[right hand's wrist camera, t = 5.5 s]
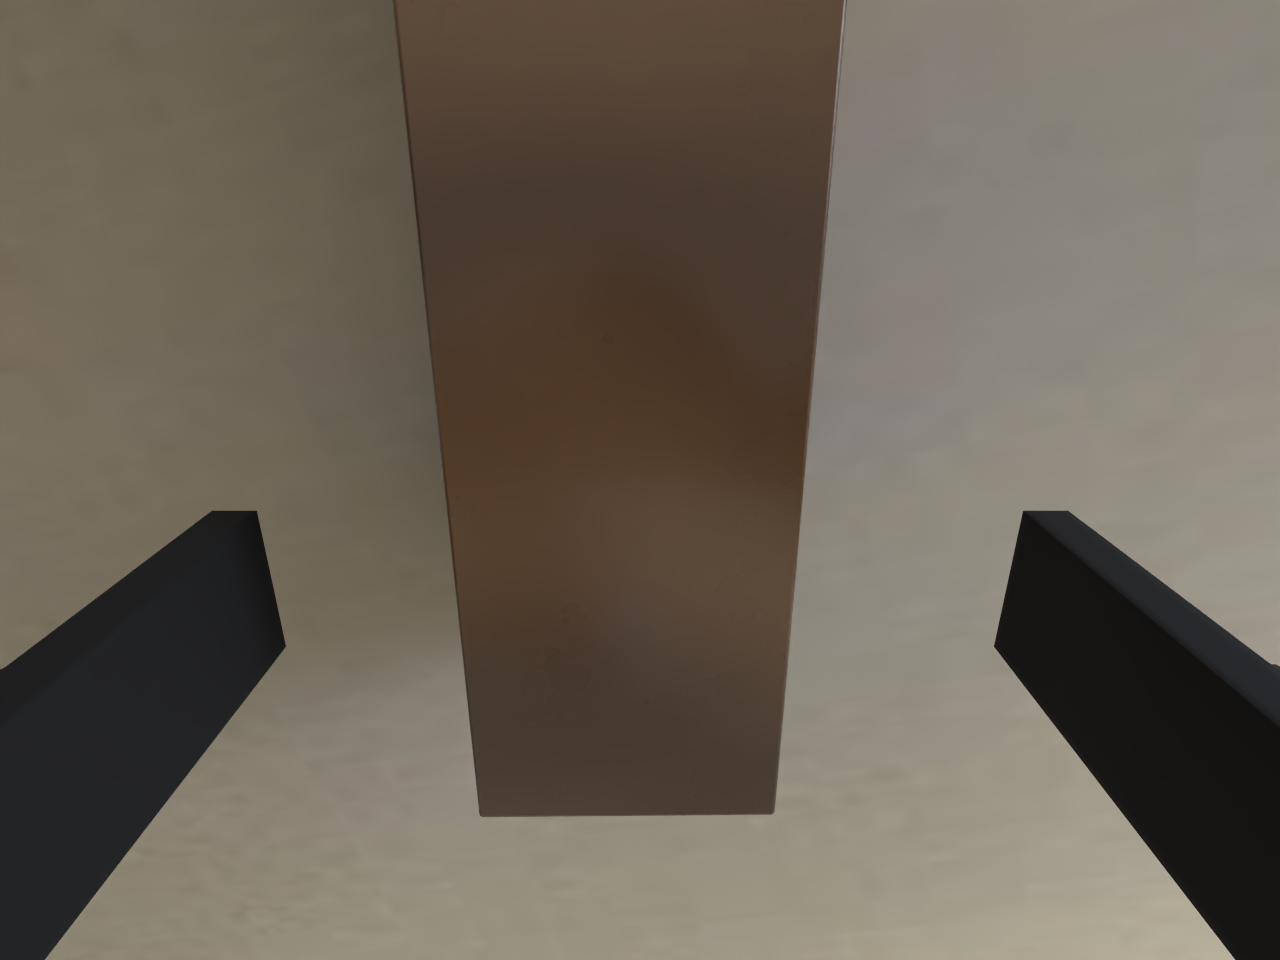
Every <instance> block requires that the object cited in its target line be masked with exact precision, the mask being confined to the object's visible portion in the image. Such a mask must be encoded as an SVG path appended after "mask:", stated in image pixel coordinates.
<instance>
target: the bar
mask: <svg viewBox="0 0 1280 960" xmlns="http://www.w3.org/2000/svg"><path fill="white" fill-rule="evenodd" d="M846 5H847V0H393V7H394V16H395V25H396V35H397V44H398V53H399V63H400V72H401V82H402V91H403V100H404V110H405V119H406V129H407V138H408V147H409V157H410V166H411V175H412V185H413V194H414V204H415V213H416V222H417V232H418V241H419V251H420V260H421V269H422V279H423V288H424V298H425V307H426V316H427V326H428V335H429V344H430V354H431V363H432V373H433V382H434V391H435V401H436V410H437V420H438V429H439V438H440V448H441V457H442V466H443V476H444V485H445V495H446V504H447V513H448V523H449V532H450V542H451V551H452V560H453V570H454V579H455V588H456V598H457V607H458V617H459V626H460V635H461V645H462V654H463V664H464V673H465V682H466V692H467V701H468V710H469V720H470V729H471V739H472V748H473V757H474V767H475V776H476V786H477V795H478V804H479V813H480V816H482V817H535V816H653V815H770V814H773V813H774V811H775V802H776V790H777V779H778V768H779V757H780V746H781V734H782V723H783V712H784V701H785V689H786V678H787V667H788V656H789V645H790V633H791V622H792V611H793V600H794V589H795V577H796V566H797V555H798V544H799V532H800V521H801V510H802V499H803V488H804V476H805V465H806V454H807V443H808V431H809V420H810V409H811V398H812V387H813V375H814V364H815V353H816V342H817V331H818V319H819V308H820V297H821V286H822V274H823V263H824V252H825V241H826V230H827V218H828V207H829V196H830V185H831V174H832V162H833V151H834V140H835V129H836V117H837V106H838V95H839V84H840V73H841V61H842V50H843V39H844V28H845V16H846Z"/></svg>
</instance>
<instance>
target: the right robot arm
mask: <svg viewBox="0 0 1280 960" xmlns="http://www.w3.org/2000/svg"><path fill="white" fill-rule="evenodd" d="M285 647H286V645H285V640H284V635H283V631H282V626H281V621H280V617H279V612H278V607H277V603H276V598H275V593H274V589H273V584H272V579H271V575H270V570H269V566H268V561H267V556H266V552H265V547H264V542H263V538H262V533H261V528H260V524H259V519H258V514H257V511H211V512H210V513H209V514H207V515H206V516H205V517H203V518H202V519H201V520H199V521H198V522H197V523H195V524H194V525H193V526H191V527H190V528H189V529H187V530H186V531H185V532H183V533H182V534H181V535H179V536H178V537H177V538H175V539H174V540H173V541H172V542H170V543H169V544H168V545H166V546H165V547H164V548H162V549H161V550H160V551H158V552H157V553H156V554H154V555H153V556H152V557H150V558H149V559H148V560H146V561H145V562H144V563H142V564H141V565H140V566H138V567H137V568H136V569H135V570H133V571H132V572H131V573H129V574H128V575H127V576H125V577H124V578H123V579H121V580H120V581H119V582H117V583H116V584H115V585H113V586H112V587H111V588H109V589H108V590H107V591H105V592H104V593H103V594H101V595H100V596H99V597H98V598H96V599H95V600H94V601H92V602H91V603H90V604H88V605H87V606H86V607H84V608H83V609H82V610H80V611H79V612H78V613H76V614H75V615H74V616H72V617H71V618H70V619H68V620H67V621H66V622H65V623H63V624H62V625H61V626H59V627H58V628H57V629H55V630H54V631H53V632H51V633H50V634H49V635H47V636H46V637H45V638H43V639H42V640H41V641H39V642H38V643H37V644H35V645H34V646H33V647H31V648H30V649H29V650H28V651H26V652H25V653H24V654H22V655H21V656H20V657H18V658H17V659H16V660H14V661H13V662H12V663H10V664H9V665H8V666H6V667H5V668H3V669H1V670H0V960H45V959H46V957H47V956H48V955H49V953H50V952H51V951H52V950H53V948H54V947H55V946H56V944H57V943H58V942H59V940H60V939H61V938H62V937H63V935H64V934H65V933H66V931H67V930H68V929H69V927H70V926H71V925H72V924H73V922H74V921H75V920H76V918H77V917H78V916H79V914H80V913H81V912H82V911H83V909H84V908H85V907H86V905H87V904H88V903H89V901H90V900H91V899H92V898H93V896H94V895H95V894H96V892H97V891H98V890H99V889H100V887H101V886H102V885H103V883H104V882H105V881H106V879H107V878H108V877H109V876H110V874H111V873H112V872H113V870H114V869H115V868H116V866H117V865H118V864H119V863H120V861H121V860H122V859H123V857H124V856H125V855H126V853H127V852H128V851H129V850H130V848H131V847H132V846H133V844H134V843H135V842H136V840H137V839H138V838H139V837H140V835H141V834H142V833H143V831H144V830H145V829H146V828H147V826H148V825H149V824H150V822H151V821H152V820H153V818H154V817H155V816H156V815H157V813H158V812H159V811H160V809H161V808H162V807H163V805H164V804H165V803H166V802H167V800H168V799H169V798H170V796H171V795H172V794H173V792H174V791H175V790H176V789H177V787H178V786H179V785H180V783H181V782H182V781H183V779H184V778H185V777H186V776H187V774H188V773H189V772H190V770H191V769H192V768H193V766H194V765H195V764H196V763H197V761H198V760H199V759H200V757H201V756H202V755H203V754H204V752H205V751H206V750H207V748H208V747H209V746H210V744H211V743H212V742H213V741H214V739H215V738H216V737H217V735H218V734H219V733H220V731H221V730H222V729H223V728H224V726H225V725H226V724H227V722H228V721H229V720H230V718H231V717H232V716H233V715H234V713H235V712H236V711H237V709H238V708H239V707H240V705H241V704H242V703H243V702H244V700H245V699H246V698H247V696H248V695H249V694H250V692H251V691H252V690H253V689H254V687H255V686H256V685H257V683H258V682H259V681H260V680H261V678H262V677H263V676H264V674H265V673H266V672H267V670H268V669H269V668H270V667H271V665H272V664H273V663H274V661H275V660H276V659H277V657H278V656H279V655H280V654H281V652H282V651H283V650H284V648H285ZM994 647H995V648H996V650H997V651H998V652H999V654H1000V655H1001V656H1002V657H1003V659H1004V660H1005V661H1006V663H1007V664H1008V665H1009V667H1010V668H1011V669H1012V670H1013V672H1014V673H1015V674H1016V676H1017V677H1018V678H1019V680H1020V681H1021V682H1022V683H1023V685H1024V686H1025V687H1026V689H1027V690H1028V691H1029V692H1030V694H1031V695H1032V696H1033V698H1034V699H1035V700H1036V702H1037V703H1038V704H1039V705H1040V707H1041V708H1042V709H1043V711H1044V712H1045V713H1046V715H1047V716H1048V717H1049V718H1050V720H1051V721H1052V722H1053V724H1054V725H1055V726H1056V728H1057V729H1058V730H1059V731H1060V733H1061V734H1062V735H1063V737H1064V738H1065V739H1066V741H1067V742H1068V743H1069V744H1070V746H1071V747H1072V748H1073V750H1074V751H1075V752H1076V754H1077V755H1078V756H1079V757H1080V759H1081V760H1082V761H1083V763H1084V764H1085V765H1086V766H1087V768H1088V769H1089V770H1090V772H1091V773H1092V774H1093V776H1094V777H1095V778H1096V779H1097V781H1098V782H1099V783H1100V785H1101V786H1102V787H1103V789H1104V790H1105V791H1106V792H1107V794H1108V795H1109V796H1110V798H1111V799H1112V800H1113V802H1114V803H1115V804H1116V805H1117V807H1118V808H1119V809H1120V811H1121V812H1122V813H1123V815H1124V816H1125V817H1126V818H1127V820H1128V821H1129V822H1130V824H1131V825H1132V826H1133V828H1134V829H1135V830H1136V831H1137V833H1138V834H1139V835H1140V837H1141V838H1142V839H1143V840H1144V842H1145V843H1146V844H1147V846H1148V847H1149V848H1150V850H1151V851H1152V852H1153V853H1154V855H1155V856H1156V857H1157V859H1158V860H1159V861H1160V863H1161V864H1162V865H1163V866H1164V868H1165V869H1166V870H1167V872H1168V873H1169V874H1170V876H1171V877H1172V878H1173V879H1174V881H1175V882H1176V883H1177V885H1178V886H1179V887H1180V889H1181V890H1182V891H1183V892H1184V894H1185V895H1186V896H1187V898H1188V899H1189V900H1190V901H1191V903H1192V904H1193V905H1194V907H1195V908H1196V909H1197V911H1198V912H1199V913H1200V914H1201V916H1202V917H1203V918H1204V920H1205V921H1206V922H1207V924H1208V925H1209V926H1210V927H1211V929H1212V930H1213V931H1214V933H1215V934H1216V935H1217V937H1218V938H1219V939H1220V940H1221V942H1222V943H1223V944H1224V946H1225V947H1226V948H1227V950H1228V951H1229V952H1230V953H1231V955H1232V956H1233V957H1234V959H1235V960H1280V666H1278V665H1276V664H1270V663H1268V662H1267V661H1266V660H1264V659H1263V658H1262V657H1260V656H1259V655H1258V654H1256V653H1255V652H1254V651H1252V650H1251V649H1250V648H1249V647H1247V646H1246V645H1245V644H1243V643H1242V642H1241V641H1239V640H1238V639H1237V638H1235V637H1234V636H1233V635H1231V634H1230V633H1229V632H1227V631H1226V630H1225V629H1223V628H1222V627H1221V626H1219V625H1218V624H1217V623H1215V622H1214V621H1213V620H1212V619H1210V618H1209V617H1208V616H1206V615H1205V614H1204V613H1202V612H1201V611H1200V610H1198V609H1197V608H1196V607H1194V606H1193V605H1192V604H1190V603H1189V602H1188V601H1186V600H1185V599H1184V598H1182V597H1181V596H1180V595H1179V594H1177V593H1176V592H1175V591H1173V590H1172V589H1171V588H1169V587H1168V586H1167V585H1165V584H1164V583H1163V582H1161V581H1160V580H1159V579H1157V578H1156V577H1155V576H1153V575H1152V574H1151V573H1149V572H1148V571H1147V570H1145V569H1144V568H1143V567H1142V566H1140V565H1139V564H1138V563H1136V562H1135V561H1134V560H1132V559H1131V558H1130V557H1128V556H1127V555H1126V554H1124V553H1123V552H1122V551H1120V550H1119V549H1118V548H1116V547H1115V546H1114V545H1112V544H1111V543H1110V542H1108V541H1107V540H1106V539H1105V538H1103V537H1102V536H1101V535H1099V534H1098V533H1097V532H1095V531H1094V530H1093V529H1091V528H1090V527H1089V526H1087V525H1086V524H1085V523H1083V522H1082V521H1081V520H1079V519H1078V518H1077V517H1075V516H1074V515H1073V514H1071V513H1070V512H1069V511H1023V514H1022V519H1021V524H1020V528H1019V533H1018V538H1017V542H1016V547H1015V552H1014V556H1013V561H1012V566H1011V570H1010V575H1009V579H1008V584H1007V589H1006V593H1005V598H1004V603H1003V607H1002V612H1001V617H1000V621H999V626H998V631H997V635H996V640H995V645H994Z"/></svg>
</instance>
